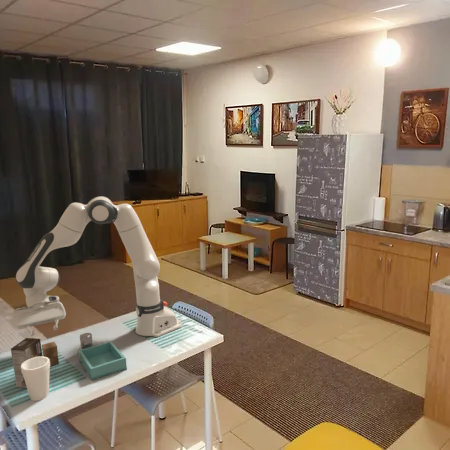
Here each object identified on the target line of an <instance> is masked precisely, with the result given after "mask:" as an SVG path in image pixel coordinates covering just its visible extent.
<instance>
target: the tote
mask: <svg viewBox="0 0 450 450" xmlns="http://www.w3.org/2000/svg"><path fill="white" fill-rule="evenodd" d="M77 352H78V360H79V363H80V364H81V367H82V368H83V370H84V371H85V372H86V374H87V375H88V377H89V379H90V380H91V381H96V380H100V379H102V378H106V377H108V376H112V375H114V374H117V373H120V372H124V371H127V369H128V367H127V358H126V357H125V355H124V354H123V353H122V352H121V351H120V350H119V348H117V346H116V345H115V344H114V343H113V341H111V340H110V341H107V342H103V343H101V344H97V345H93V346H92V347H89V348H85V349H82V350H81V349H79V350H78V351H77Z"/></svg>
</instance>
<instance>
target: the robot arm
mask: <svg viewBox="0 0 450 450" xmlns="http://www.w3.org/2000/svg"><path fill="white" fill-rule="evenodd" d="M91 221H92V222H93V223H95V224H98V225H103V224H112V223H113V224H114V226H115V229H116V230H117V232H118V235H119V237H120V239H121V242H122V243H123V246H124V247H125V250H126V252H127V254H128V256H129V258H130V261H131V263H132V271H133V280H134V284H135V285H134V286H135V294H136V295H135V297H136V302H135V311H136V317H137V318H136V327H135V333H136V334H137V335H140V336H142V337H143V336H144V337H157V338H158V337H161V336H163V335H165V334H168V333H171V332H173V331H175V330H179V329H180V328H182V326H183V325H182V321H181V320H180V319H178V318H177V316H176V314H175V312H174V311H172V310H171V309H170V308H168V303H167V302H166V301H164V300H162V299H161V297H160V295H161V294H160V293H161V292H160V283H159V278H158V276H159V274H160V272H161V264H160V261H159V259H158V256H157V255H156V252H155V250H154V248H153V246H152V244H151V241H150V240H149V238H148V236H147V234H146V231H145V229H144V227H143V224H142V222H141V220H140V218H139V216H138V214H137V212H136V211H135V209H134V208H133V206H132V205H130V203H121V204H117V205H116V204H114V203H113V201H112V200H111V198H109V197H107V196H106V195H97V196H94V197H93V198H91V199H90V200H88V201H87V202H85V204H83V203H81V202H72V203H70V204H69V205H68V206H67V207H66V209H65V210H64V212H63V214H62V215H61V217H60V218H59V221H58V223H57V224H56V226H54V228H53V229H52V230H50V231H49V232H48V233H45V234H44V235H43V236H42V238H41V239H40V240H39V242H38V243H37V244H36V246H35V247H34V248H33V250H32V252H31V253H30V255H29V256H28V257H27V259H26V261H25V262H24V263H23V264H22V265H21V266H20V267H19V268H18V269H17V271H16V274H15V281H16V283H17V285H19V287H20V288H22V289H23V294H24V295H25V303H26V304H25V305H26V306H23V307H17V308H15V309H14V310H13V311H12V315H13V318H14V319H15V325H16V326H15V327H16V329H18V330H23V329H26V331H27V332H28V333H30V336H31V337H34V336H35V334H36V333H35V330H32V329H31V327H34V326H35V327H36V326H39V325H43V324H47V323H52V322H54V323H55V324H54V325H53V331H57V330H58V329H59V327H58V324H59V321H60V320H64V319H65V318H66V316H67V312H66V308H65V306H64V305H63V303H62V302H61V301H60V297H59V296H58V295H47V292H50V291H52V290H53V289H55V288H56V287H57V286H58V285H59V283H60V280H61V277H60V273H59V271H58V270H57V269H56V268H53V267H47V266H41V264H42V262H43V261H44V259H46V257H47V255H49V253H50V252H52V251H54V250H58V249H61V248H65V247H66V248H67V247H70V246H73V245H75V244H77V242H79V240H80V239H81V237H82V235H83V234H84V233H83V232H84V230H85V228H86V226H87V225H88V224H89V223H90V222H91Z"/></svg>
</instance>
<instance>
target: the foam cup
mask: <svg viewBox="0 0 450 450" xmlns="http://www.w3.org/2000/svg"><path fill="white" fill-rule="evenodd" d="M50 369H51V366H50V359H49V358H48V357H44V356H43V355H42V356H40V357H34V358H30V359H28V360H26V361H25V362H23V363H22V365H21V372H22V374H23V377H24V380H25V383H26V386H27V388H26V389H27V392H28V395H29V399H30V400H31V401H34V402H35V401H36V402H37V401H42V400H44V399H46V398H47V397H48V396H49V393H50Z"/></svg>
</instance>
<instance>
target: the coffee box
mask: <svg viewBox="0 0 450 450" xmlns="http://www.w3.org/2000/svg"><path fill="white" fill-rule="evenodd" d="M10 352H11V359H12V366H13V371H14V378H15V386H16V387H17V388H23V389H27V386H26V383H25V380H24V377H23V374H22V372H21V365H22V363H23V362H25V361H26V360H28V359H30V358H34V357H40V356H43V351H42V343H41V338H30V337H25V338H24V339H22V340H21V341H19V343H16V345H14V346H13V347H11V348H10Z"/></svg>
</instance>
